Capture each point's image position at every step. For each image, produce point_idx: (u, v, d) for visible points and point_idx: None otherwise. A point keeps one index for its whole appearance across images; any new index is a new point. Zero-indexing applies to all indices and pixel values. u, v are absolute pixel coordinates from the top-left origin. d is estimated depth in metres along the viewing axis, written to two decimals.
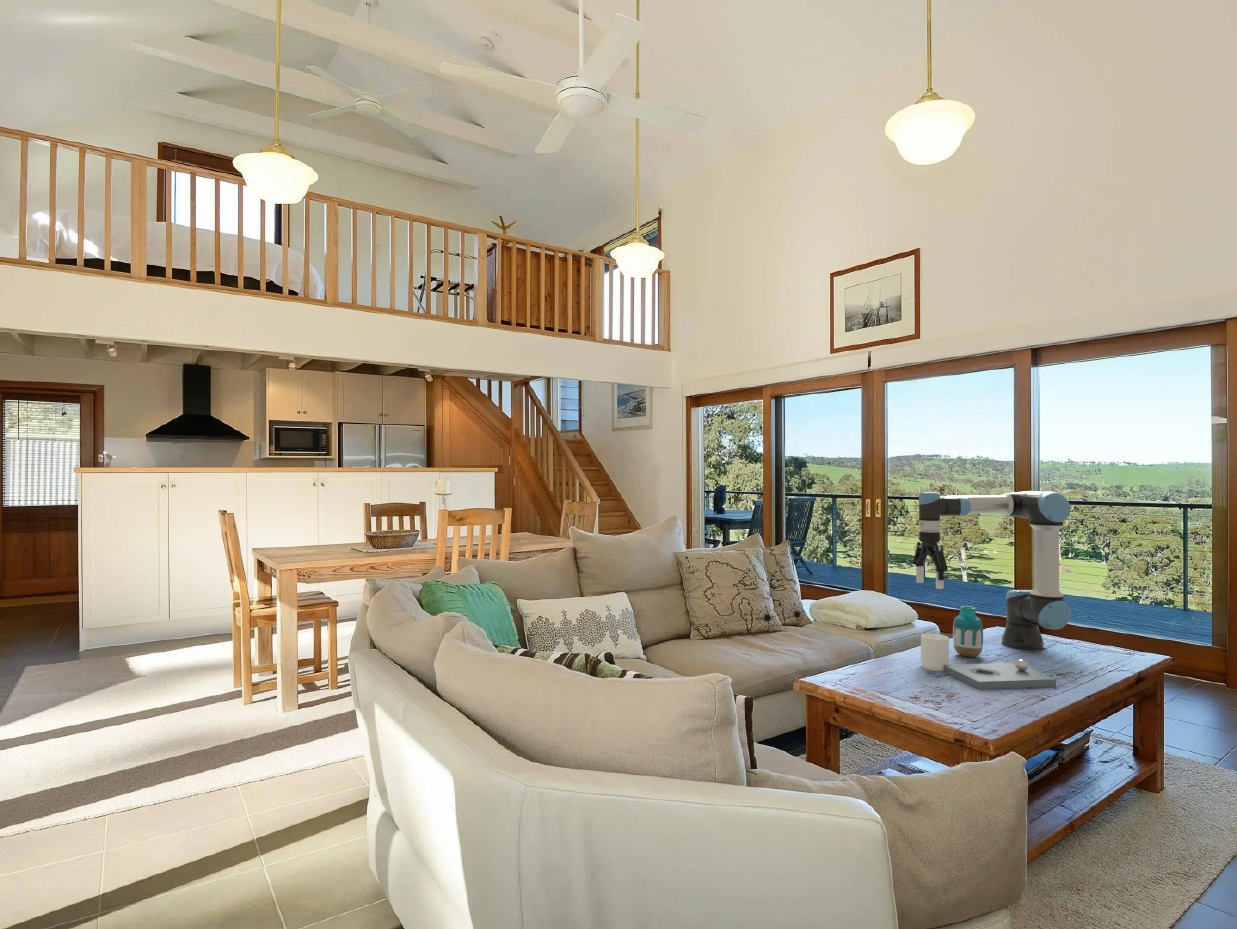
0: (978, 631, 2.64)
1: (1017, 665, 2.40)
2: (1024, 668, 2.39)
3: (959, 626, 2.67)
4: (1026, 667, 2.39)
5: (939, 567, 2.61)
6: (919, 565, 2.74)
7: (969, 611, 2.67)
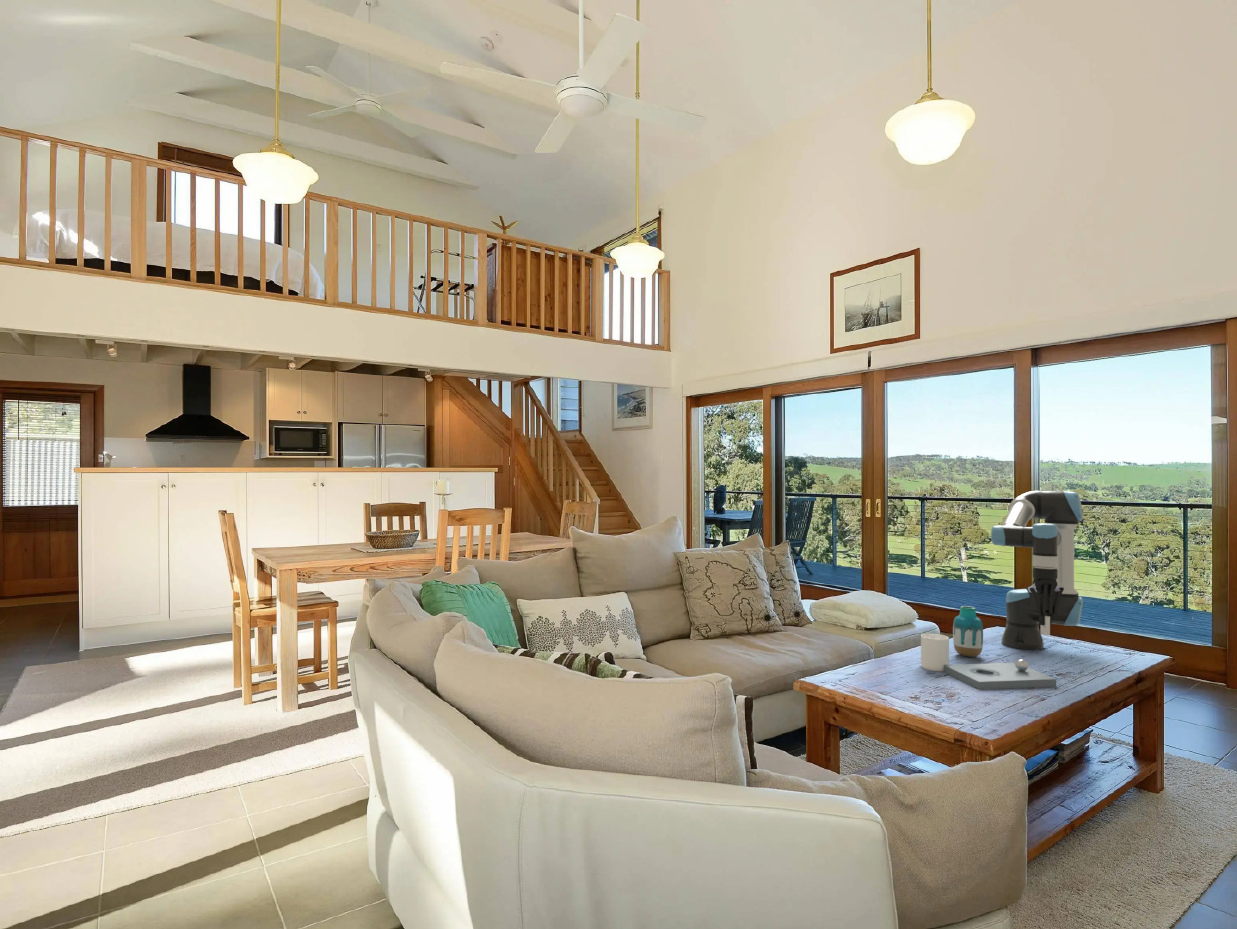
0: (978, 631, 2.64)
1: (1017, 665, 2.40)
2: (1024, 668, 2.39)
3: (959, 626, 2.67)
4: (1026, 667, 2.39)
5: None
6: (1046, 614, 2.42)
7: (969, 611, 2.67)
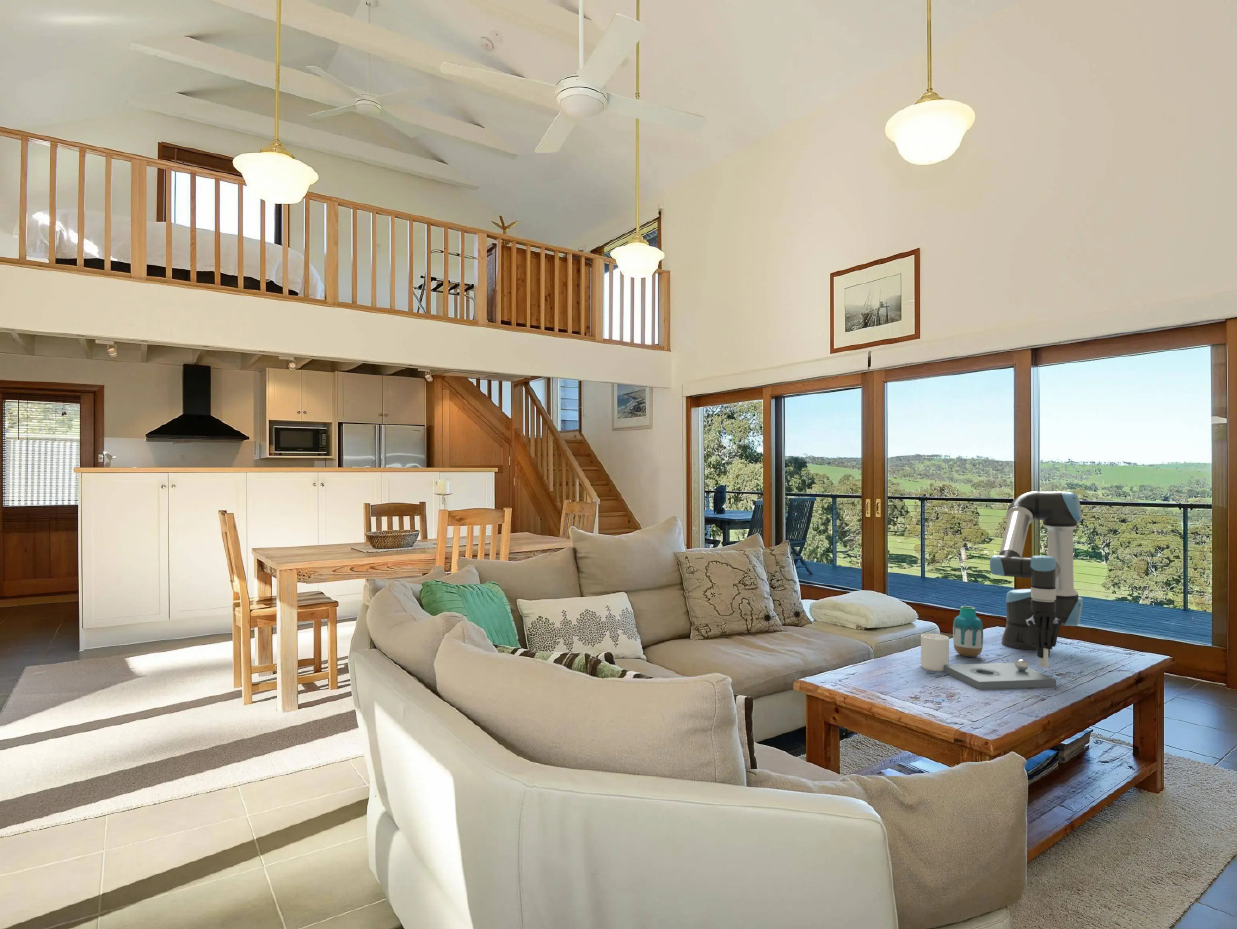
0: (978, 631, 2.64)
1: (1017, 665, 2.40)
2: (1024, 668, 2.39)
3: (959, 626, 2.67)
4: (1026, 667, 2.39)
5: None
6: (1045, 647, 2.42)
7: (969, 611, 2.67)
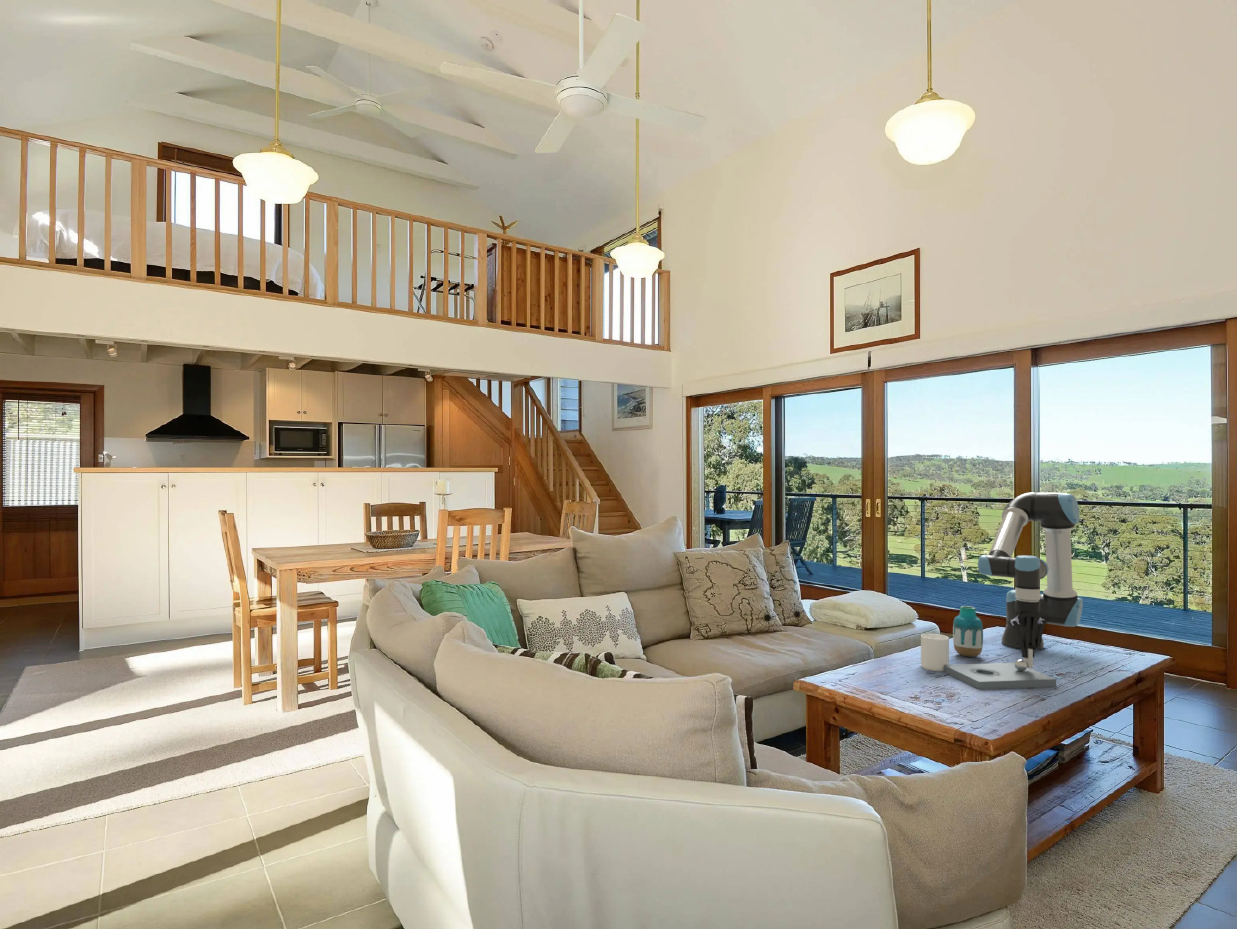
0: (978, 631, 2.64)
1: (1016, 666, 2.40)
2: (1023, 668, 2.39)
3: (959, 626, 2.67)
4: (1025, 667, 2.39)
5: None
6: (1029, 647, 2.41)
7: (969, 611, 2.67)
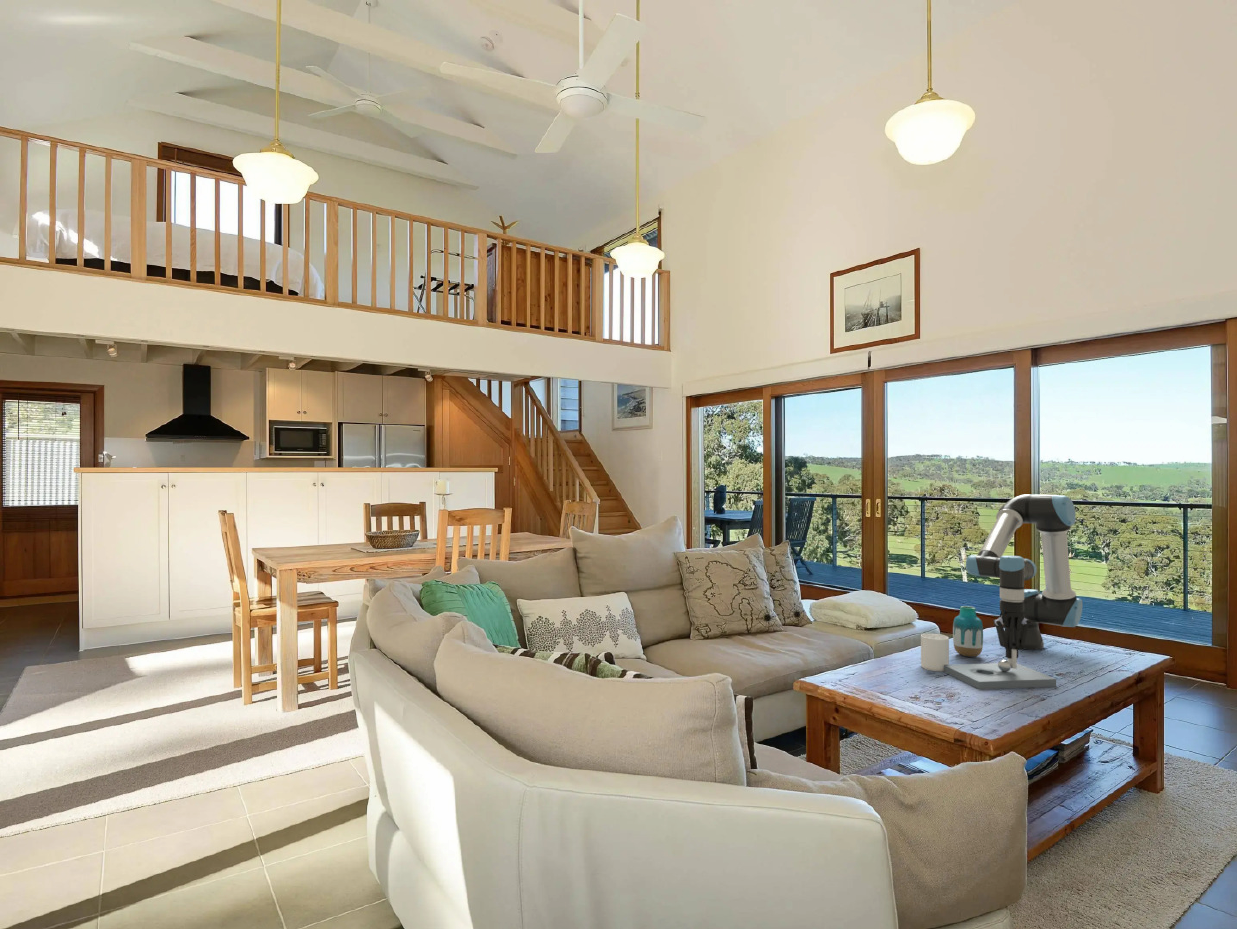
0: (978, 631, 2.64)
1: None
2: (1009, 665, 2.38)
3: (959, 626, 2.67)
4: (1007, 666, 2.38)
5: None
6: (1013, 647, 2.40)
7: (969, 611, 2.67)
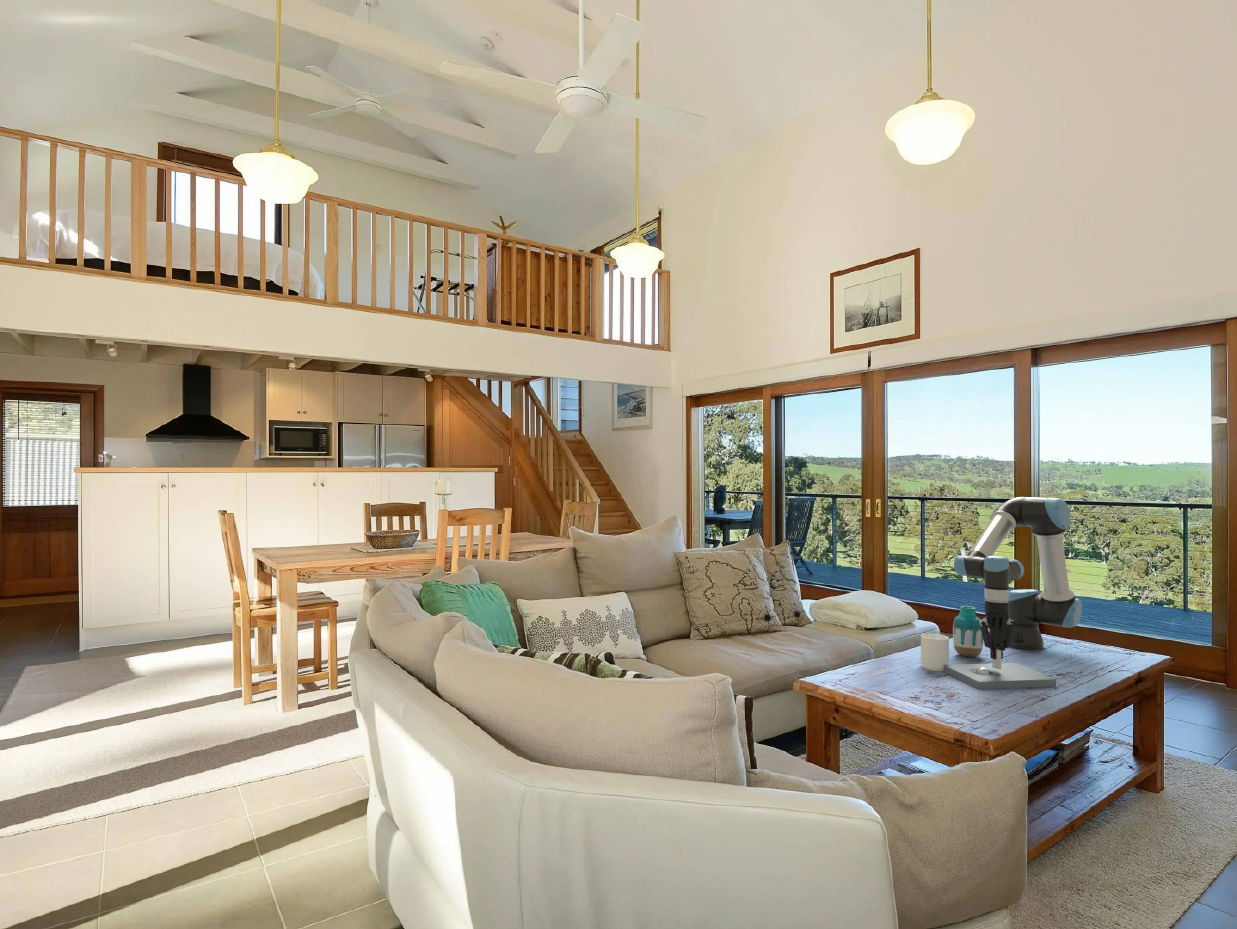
0: (978, 631, 2.64)
1: None
2: None
3: (959, 626, 2.67)
4: None
5: None
6: (998, 648, 2.39)
7: (969, 611, 2.67)
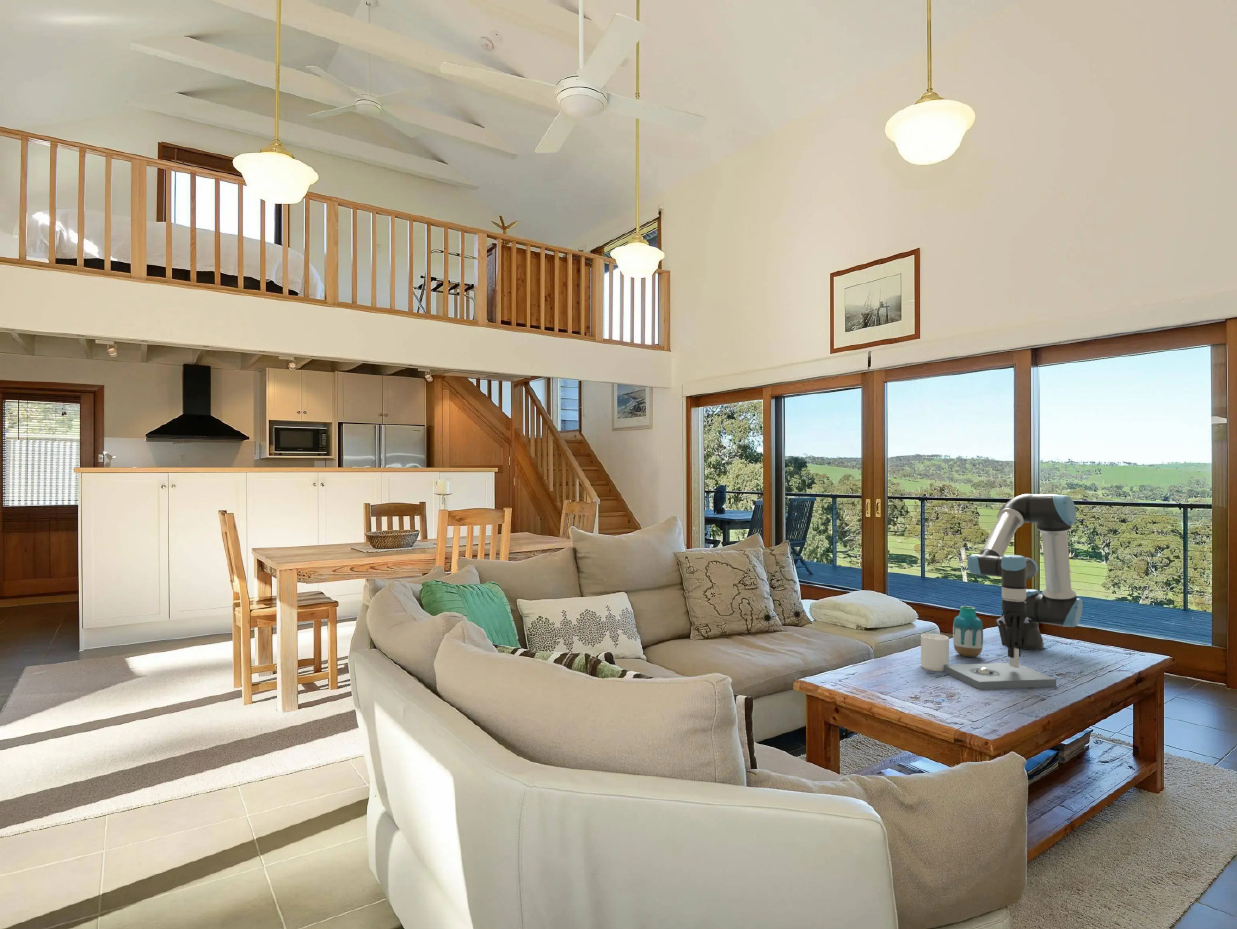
0: (978, 631, 2.64)
1: None
2: None
3: (959, 626, 2.67)
4: None
5: None
6: (1015, 646, 2.40)
7: (969, 611, 2.67)
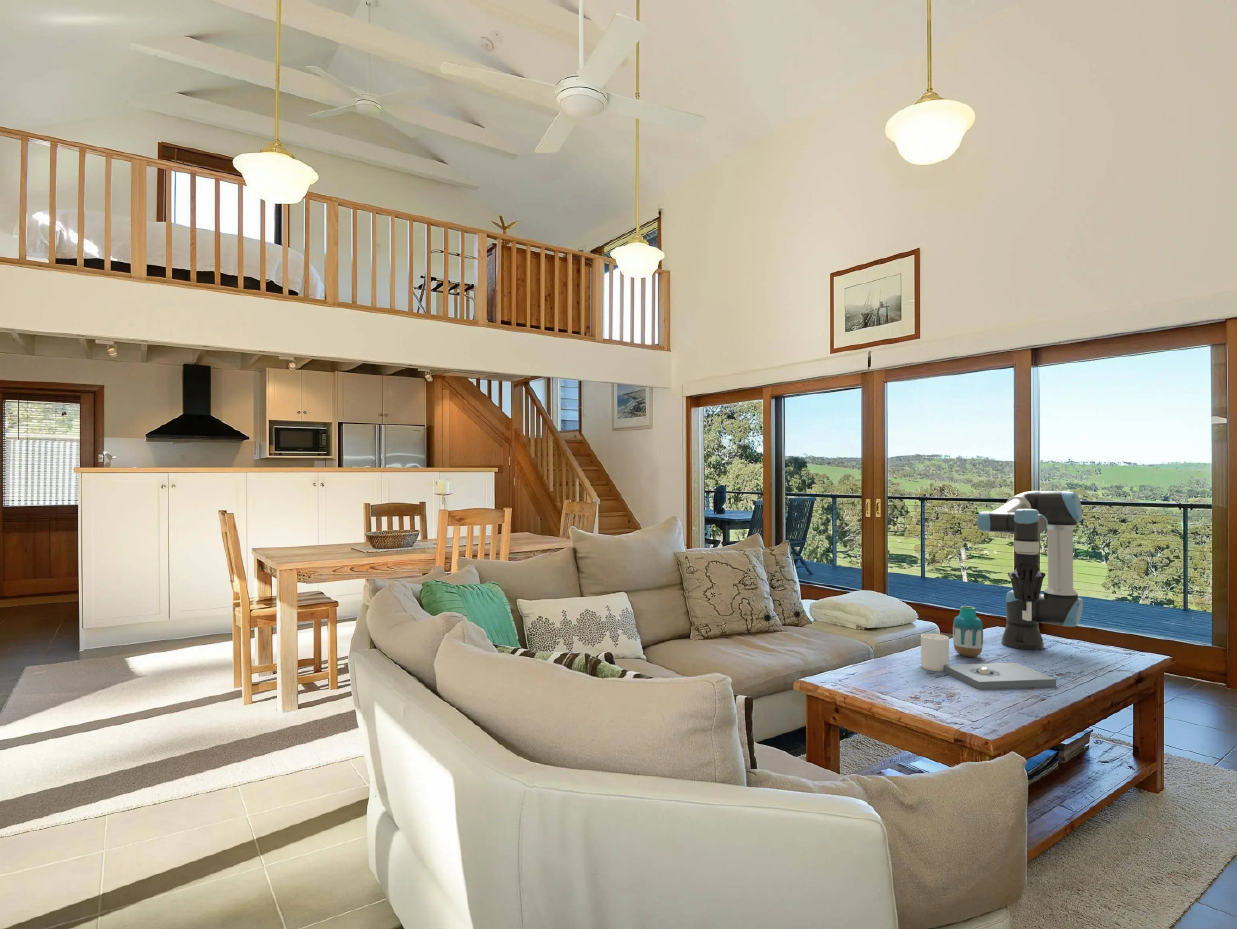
0: (978, 631, 2.64)
1: None
2: None
3: (959, 626, 2.67)
4: None
5: None
6: (1028, 600, 2.41)
7: (969, 611, 2.67)
